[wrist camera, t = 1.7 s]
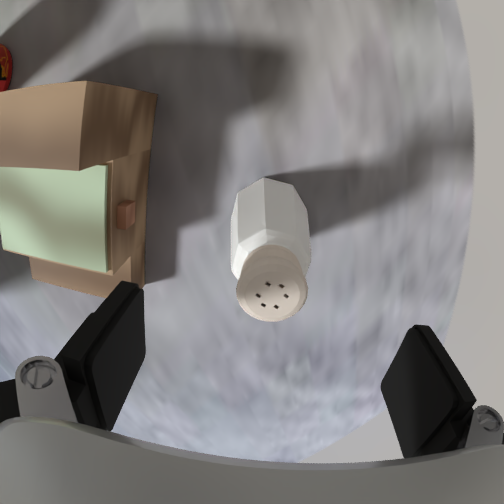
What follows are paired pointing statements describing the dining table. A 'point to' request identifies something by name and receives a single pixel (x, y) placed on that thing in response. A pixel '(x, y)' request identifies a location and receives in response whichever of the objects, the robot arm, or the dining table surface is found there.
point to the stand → (76, 182)
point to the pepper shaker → (270, 250)
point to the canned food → (5, 68)
